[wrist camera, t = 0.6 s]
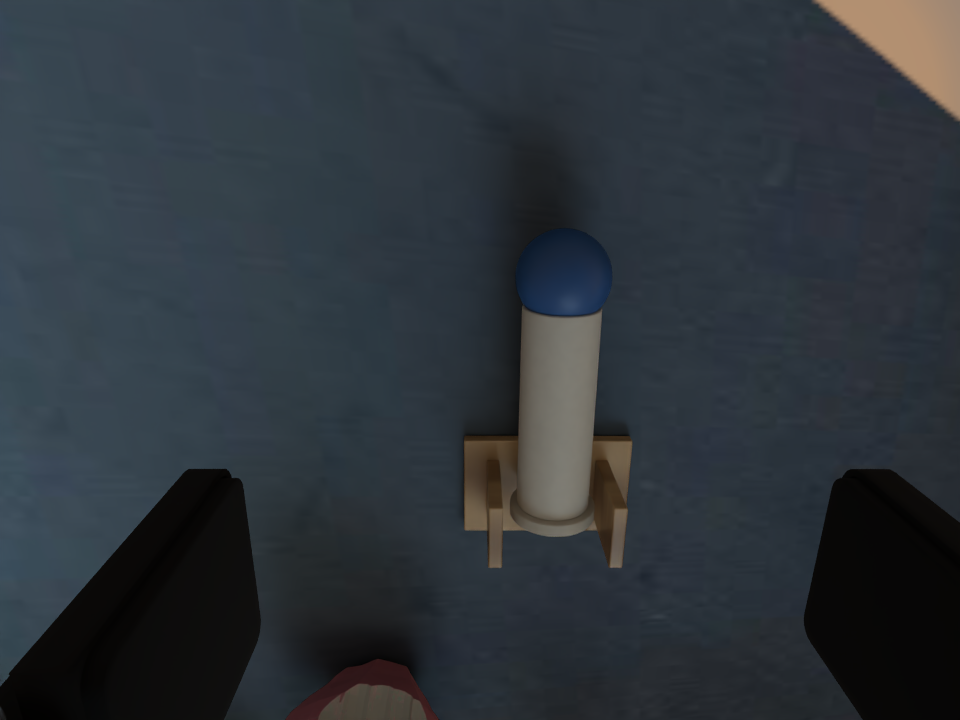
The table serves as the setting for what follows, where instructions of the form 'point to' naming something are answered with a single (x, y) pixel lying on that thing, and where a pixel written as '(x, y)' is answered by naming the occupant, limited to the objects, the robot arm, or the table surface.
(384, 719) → the apple
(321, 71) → the table surface
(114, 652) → the robot arm
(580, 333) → the blue tipped lever
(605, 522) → the rack
